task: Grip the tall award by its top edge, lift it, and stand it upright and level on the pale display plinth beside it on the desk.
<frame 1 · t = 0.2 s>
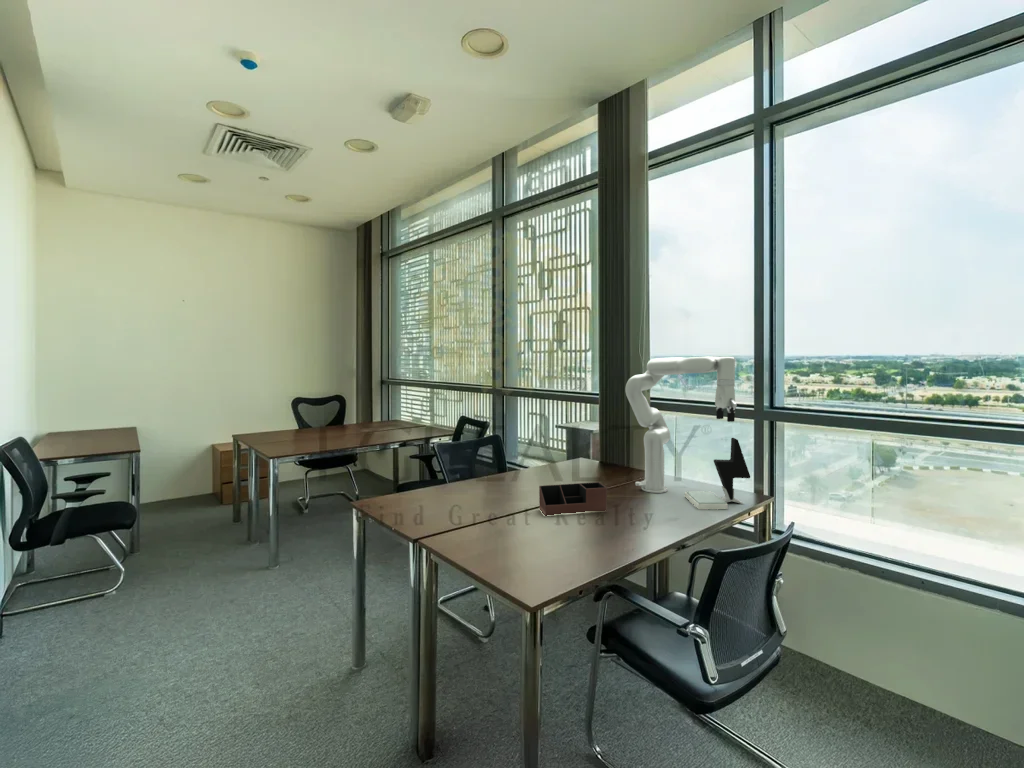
hand: (725, 420, 227), 38 cm above the table, tool pointing down, fingers open, 9 cm apart
display plinth: (705, 503, 226), on the table
award: (731, 502, 227), on the table
desk organizer: (572, 511, 217), on the table
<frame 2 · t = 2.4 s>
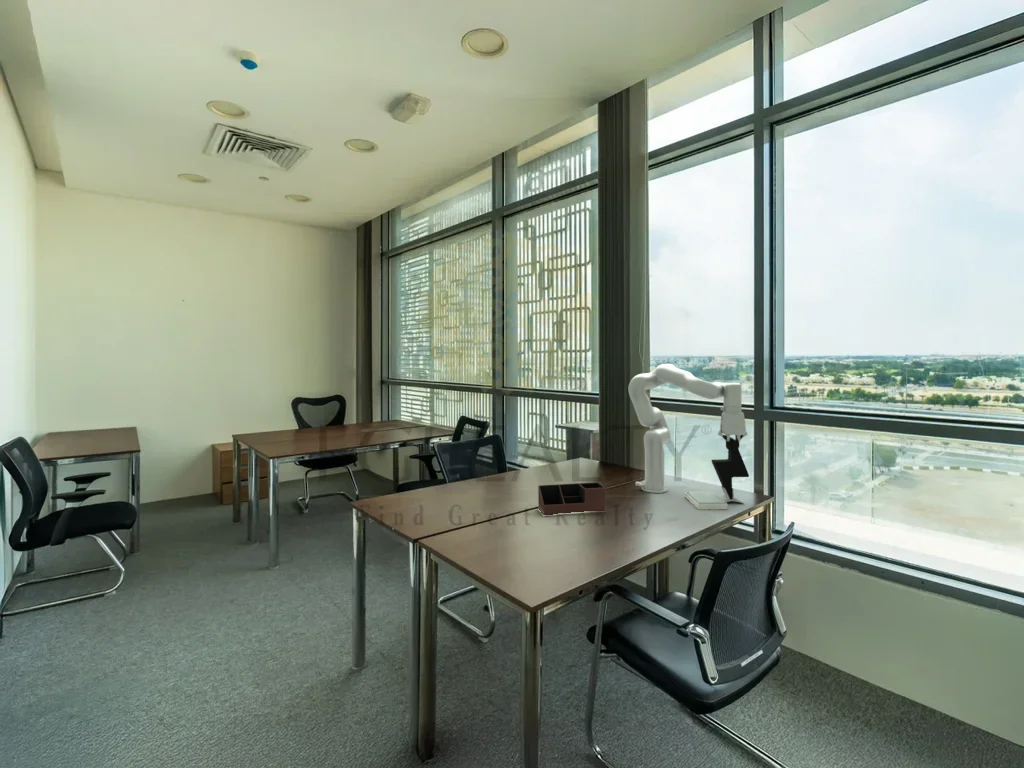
hand: (732, 448, 225), 25 cm above the table, tool pointing down, fingers closed on award, 2 cm apart
award: (731, 502, 227), on the table, touching gripper
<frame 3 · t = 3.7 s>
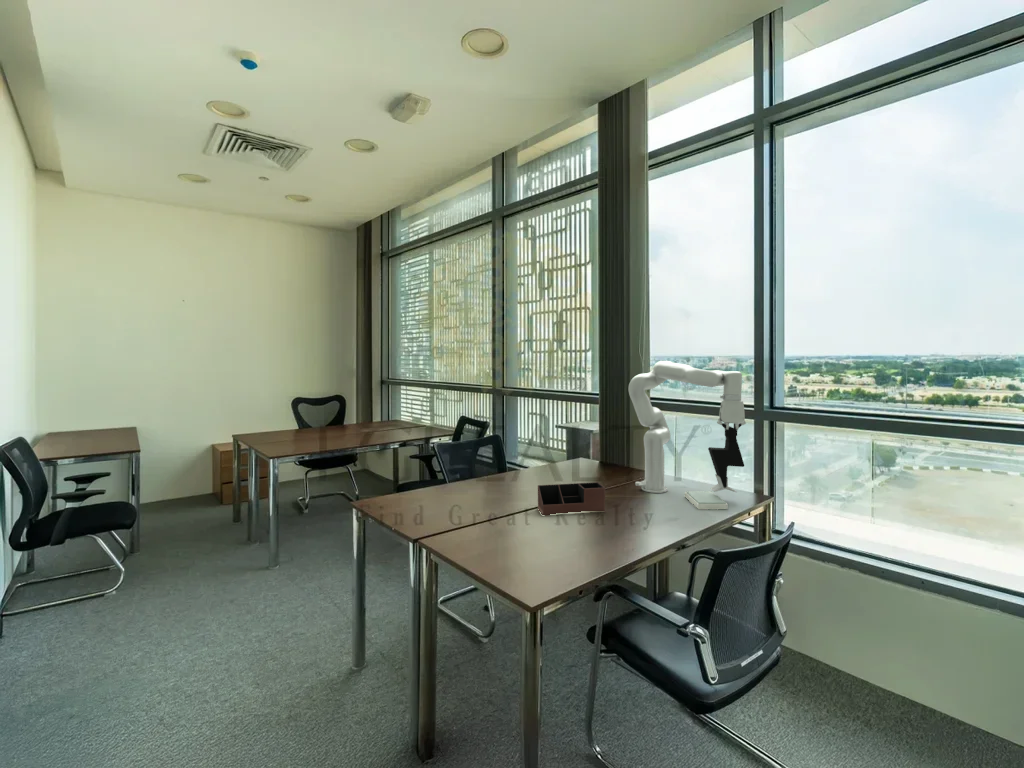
hand: (730, 437, 225), 30 cm above the table, tool pointing down, fingers closed on award
award: (724, 490, 228), point 5 cm above the table, touching gripper
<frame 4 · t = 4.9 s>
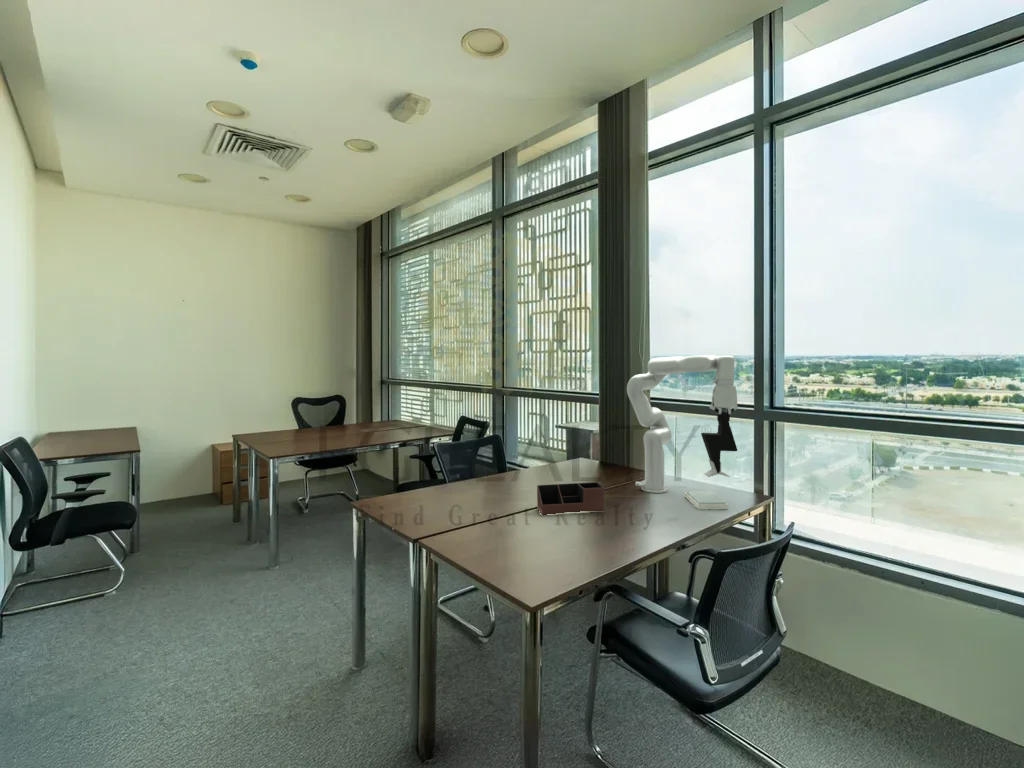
hand: (723, 422, 224), 38 cm above the table, tool pointing down, fingers closed on award
award: (717, 475, 227), point 12 cm above the table, touching gripper
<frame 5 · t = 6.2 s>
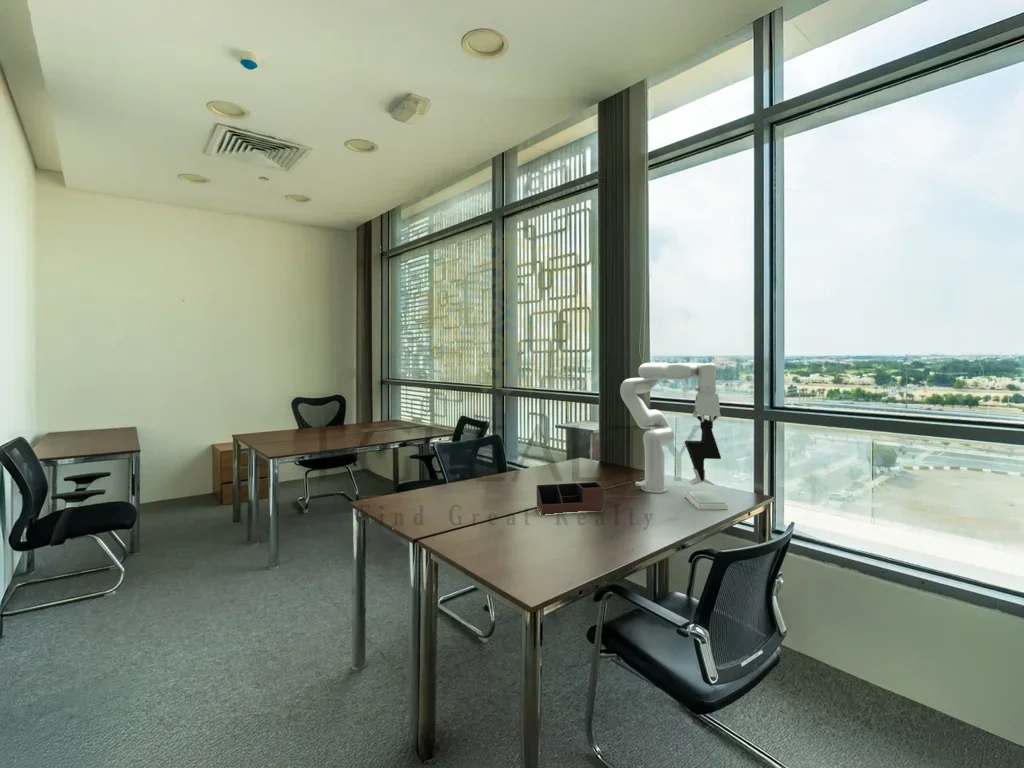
hand: (706, 429, 224), 34 cm above the table, tool pointing down, fingers closed on award
award: (702, 483, 226), point 9 cm above the table, touching gripper
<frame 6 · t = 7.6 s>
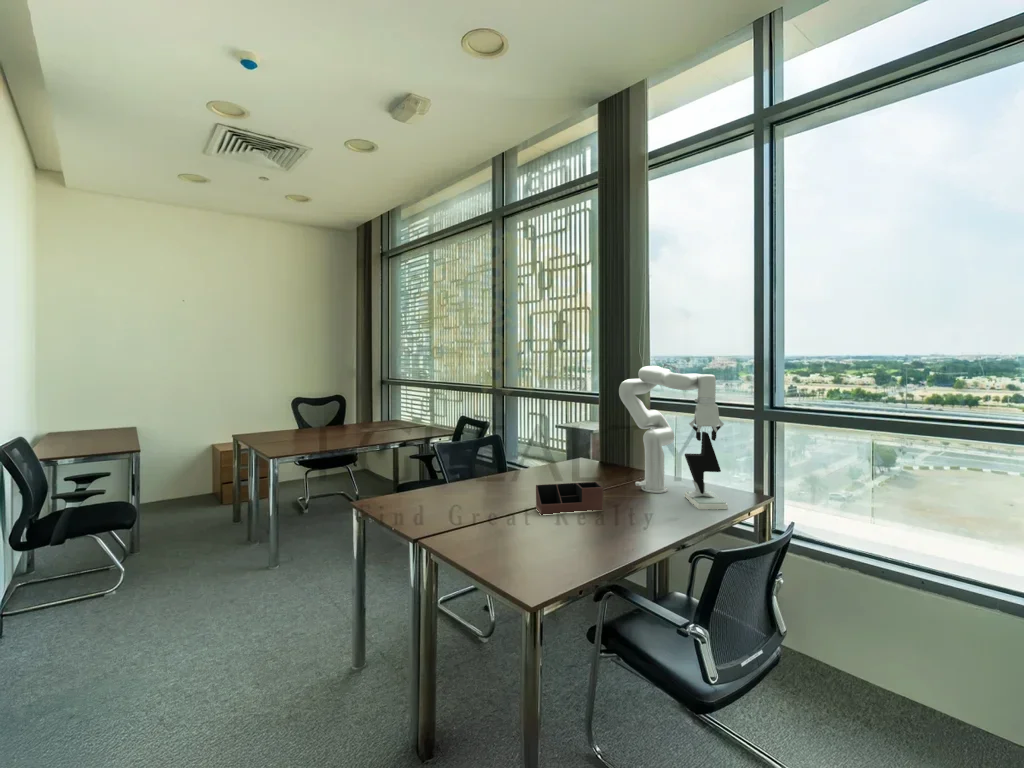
hand: (706, 439, 225), 30 cm above the table, tool pointing down, fingers open, 6 cm apart
award: (702, 496, 227), point 3 cm above the table, touching display plinth
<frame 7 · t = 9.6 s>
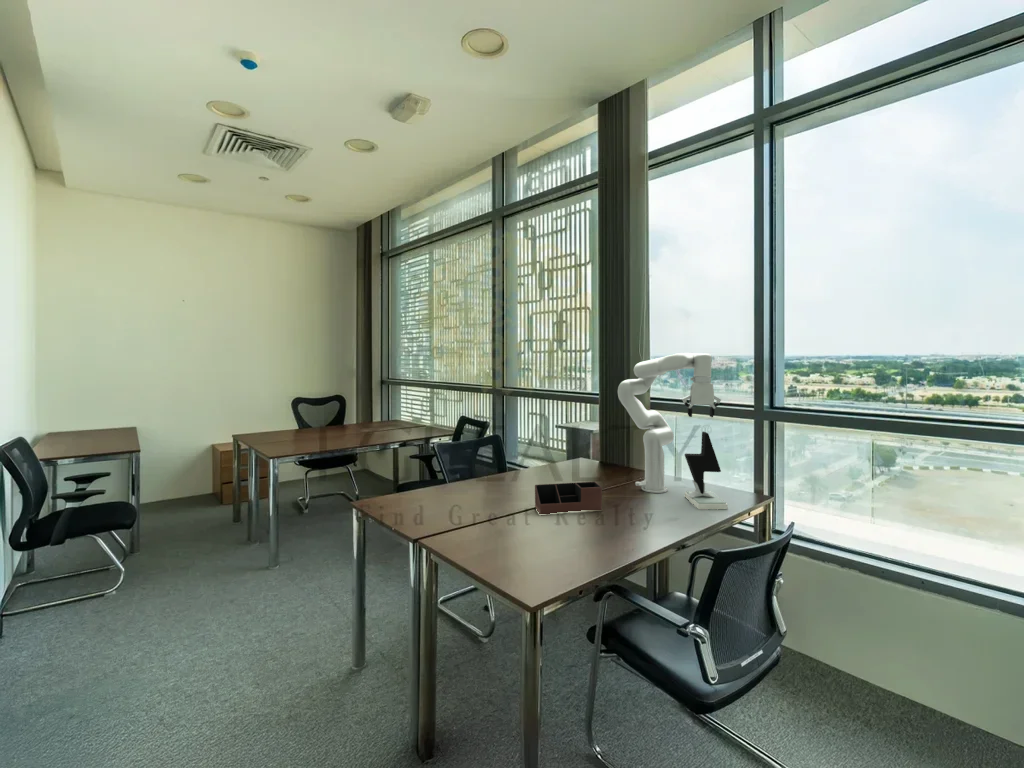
hand: (700, 416, 228), 40 cm above the table, tool pointing down, fingers open, 9 cm apart
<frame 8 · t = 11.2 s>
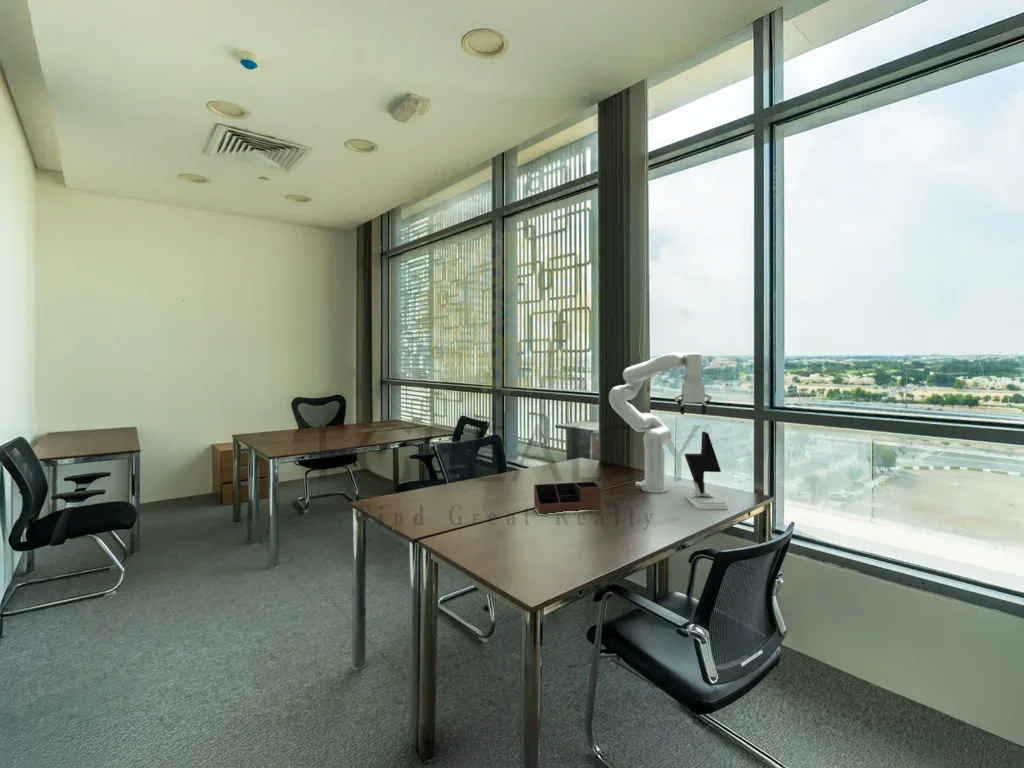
hand: (692, 414, 234), 40 cm above the table, tool pointing down, fingers open, 9 cm apart
at the end: award inside the target area on the display plinth (1.5 cm from its centre), point 2.8 cm above the display plinth's base; award tilted 0°; the gripper is holding nothing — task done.
